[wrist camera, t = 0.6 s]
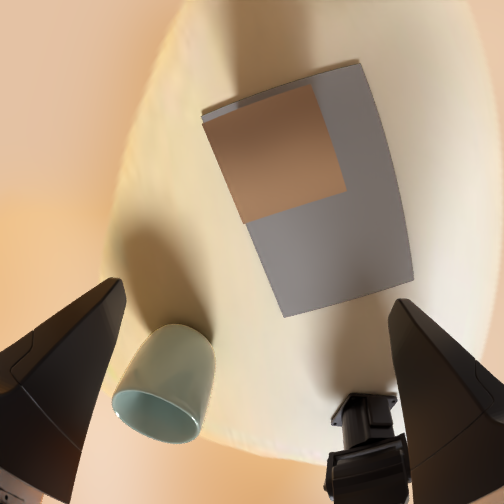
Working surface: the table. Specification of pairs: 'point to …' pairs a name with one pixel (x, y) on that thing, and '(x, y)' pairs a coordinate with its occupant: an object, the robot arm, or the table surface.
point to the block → (276, 154)
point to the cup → (168, 385)
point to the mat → (337, 208)
